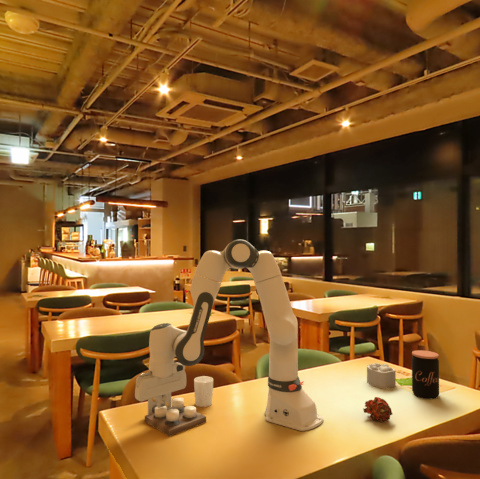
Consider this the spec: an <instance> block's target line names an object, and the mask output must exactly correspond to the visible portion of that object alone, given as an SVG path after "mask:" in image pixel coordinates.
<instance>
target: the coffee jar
mask: <svg viewBox="0 0 480 479" xmlns="http://www.w3.org/2000/svg"><path fill="white" fill-rule="evenodd" d="M411 355H412V358H411V380H412V381H411V391H412V393H413V394H414V396H416V397H417V398H422V399H427V400H434V399H438V397H439V396H440V361H439V356H440V354H438V353H437V352H434V351H429V350H422V349H420V350H419V349H418V350H412V352H411Z"/></svg>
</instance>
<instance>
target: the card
mask: <svg viewBox="0 0 480 479" xmlns="http://www.w3.org/2000/svg"><path fill="white" fill-rule="evenodd" d="M162 399H163V395H161V396H160V399H159V400H160V401H162ZM155 407H157V402H156V400H155V399H154V398H152V399H148V400H147V415H149V414H152V413H155ZM166 407H167V408H170V407H172V392H171V393H169V397H168V399H167V401H166Z"/></svg>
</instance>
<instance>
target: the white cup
mask: <svg viewBox="0 0 480 479" xmlns="http://www.w3.org/2000/svg"><path fill="white" fill-rule="evenodd" d="M193 387H194V388H193V389H194V398H195V399H194V400H195V401H194V402H195V403H194V404H195V406H197V407H199V408H200V407H201V408H207V407H210V406H211V405H212V404H213V394H214V393H213V391H214V378H213V377H212V376H207V375H206V376H205V375H202V376H197V377H194V379H193Z"/></svg>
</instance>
